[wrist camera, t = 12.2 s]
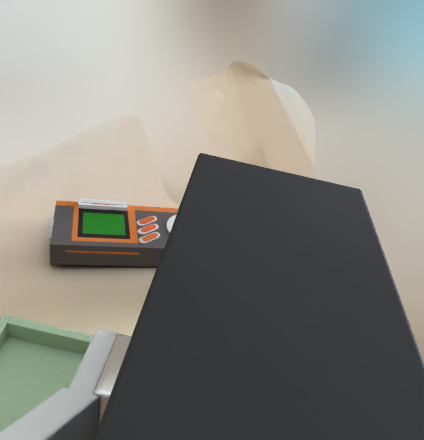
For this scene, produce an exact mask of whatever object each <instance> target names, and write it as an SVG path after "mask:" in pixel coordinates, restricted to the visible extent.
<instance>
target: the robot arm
mask: <svg viewBox="0 0 424 440" xmlns="http://www.w3.org/2000/svg"><path fill="white" fill-rule="evenodd" d="M130 340H131V337H130V336H126V335H122V334H119V333H114V332H110V331H106V330H101V329H98V330H97V331H96V333H95V334H94V336H93V338H92V340H91V342H90V344H89V346H88V349H87V351H86V353H85V355H84V357H83V359H82V361H81V363H80V366H79V368H78V370H77V372H76V374H75V376H74V378H73V381H72V383H71V385H70V387H69V389H68V388H63V387H62V388H61V389H60V390H58V391H57V392H55V393H54V394H53V395H51V396H50V397H49V398H47V399H46V400H44V401H43V402H42V403H40V404H39V405H37V406H36V407H35V408H33V409H32V410H31V411H29V412H28V413H26V414H25V415H24V416H22V417H21V418H19V419H18V420H17V421H15V422H14V423H12V424H11V425H10V426H8V427H7V428H6V429H4V430H3V431H1V432H0V440H94V438H95V435H96V432H97V430H98V427H99V424H100V421H101V419H102V416H103V413H104V411H105V408H106V405H107V402H108V400H109V397H110V394H111V392H112V389H113V386H114V383H115V381H116V378H117V375H118V372H119V370H120V367H121V364H122V362H123V359H124V356H125V353H126V351H127V348H128V345H129V343H130Z"/></svg>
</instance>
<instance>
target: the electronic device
mask: <svg viewBox="0 0 424 440" xmlns="http://www.w3.org/2000/svg"><path fill="white" fill-rule="evenodd" d="M178 210H179V209H174V208H159V207H144V206H129V205H127V201H114V200H100V199H85V198H79V200H78V202H70V201H56V207H55V214H54V217H53V218H52V219H50V221H49V229H48V237H49V238H50V239H51V244H50V264H58V265H106V266H155V267H158V264H159V261H160V258H161V256H162V253H163V250H164V248H165V245H166V242H167V239H168V237H169V234H170V231H171V229H172V226H173V223H174V220H175V218H176V215H177V212H178Z"/></svg>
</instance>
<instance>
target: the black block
mask: <svg viewBox="0 0 424 440" xmlns="http://www.w3.org/2000/svg"><path fill="white" fill-rule="evenodd" d="M94 440H424V363H423V361H422V358H421V355H420V352H419V350H418V347H417V344H416V341H415V338H414V335H413V333H412V330H411V327H410V325H409V322H408V319H407V316H406V313H405V310H404V308H403V305H402V302H401V299H400V297H399V294H398V291H397V288H396V285H395V283H394V280H393V277H392V274H391V271H390V269H389V266H388V263H387V260H386V258H385V255H384V252H383V249H382V246H381V244H380V241H379V238H378V235H377V232H376V230H375V227H374V224H373V222H372V219H371V216H370V213H369V210H368V208H367V205H366V202H365V199H364V196H363V193H362V191H361V190H360V189H356V188H352V187H348V186H343V185H339V184H335V183H330V182H326V181H321V180H317V179H313V178H308V177H304V176H300V175H295V174H291V173H286V172H282V171H278V170H273V169H269V168H264V167H260V166H256V165H251V164H247V163H242V162H238V161H234V160H229V159H225V158H221V157H216V156H211V155H207V154H202V153H200V154H199V155H198V158H197V161H196V163H195V166H194V169H193V172H192V174H191V177H190V180H189V183H188V185H187V188H186V191H185V193H184V196H183V199H182V202H181V204H180V207H179V210H178V212H177V215H176V218H175V220H174V223H173V226H172V229H171V231H170V234H169V237H168V239H167V242H166V245H165V248H164V250H163V253H162V256H161V258H160V261H159V264H158V267H157V269H156V272H155V275H154V277H153V280H152V283H151V286H150V288H149V291H148V294H147V296H146V299H145V302H144V305H143V307H142V310H141V313H140V315H139V318H138V321H137V324H136V326H135V329H134V332H133V334H132V337H131V340H130V343H129V345H128V348H127V351H126V353H125V356H124V359H123V362H122V364H121V367H120V370H119V372H118V375H117V378H116V381H115V383H114V386H113V389H112V392H111V394H110V397H109V400H108V402H107V405H106V408H105V411H104V413H103V416H102V419H101V421H100V424H99V427H98V430H97V432H96V435H95V438H94Z"/></svg>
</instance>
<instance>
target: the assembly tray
mask: <svg viewBox="0 0 424 440" xmlns="http://www.w3.org/2000/svg"><path fill="white" fill-rule="evenodd" d="M92 338H93V335H89V334H84V333H80V332H76V331H71V330H67V329H63V328H58V327H54V326H50V325H45V324H41V323H37V322H32V321H28V320H24V319H19V318H15V317H10V316H6V315H3V316H2V317H1V318H0V432H1V431H3V430H4V429H6V428H7V427H8V426H10V425H11V424H12V423H14V422H15V421H17V420H18V419H19V418H21V417H22V416H24V415H25V414H26V413H28V412H29V411H31V410H32V409H33V408H35V407H36V406H37V405H39V404H40V403H42V402H43V401H44V400H46V399H47V398H49V397H50V396H51V395H53V394H54V393H55V392H57V391H58V390H60V389H61V388H62V387H63V388H68V389H69V387H70V385H71V383H72V381H73V378H74V376H75V374H76V372H77V370H78V368H79V366H80V363H81V361H82V359H83V357H84V355H85V353H86V351H87V349H88V346H89V344H90V342H91V340H92Z"/></svg>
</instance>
